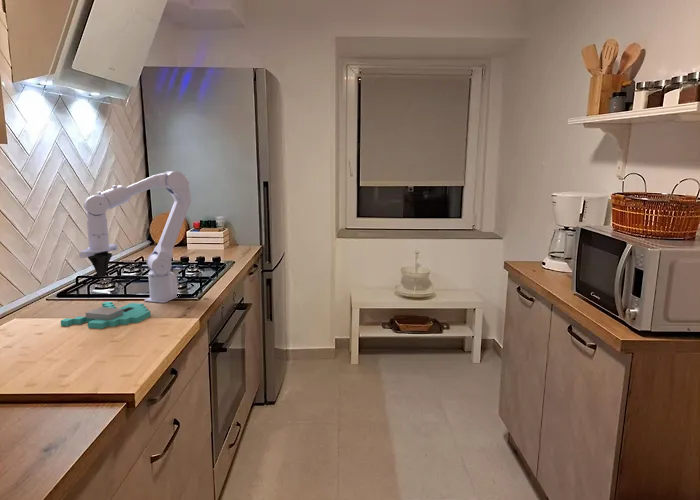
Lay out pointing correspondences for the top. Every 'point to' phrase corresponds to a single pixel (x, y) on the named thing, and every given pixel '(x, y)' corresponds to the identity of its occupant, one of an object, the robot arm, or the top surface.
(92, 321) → the alien figure
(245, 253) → the top surface
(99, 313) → the tile
